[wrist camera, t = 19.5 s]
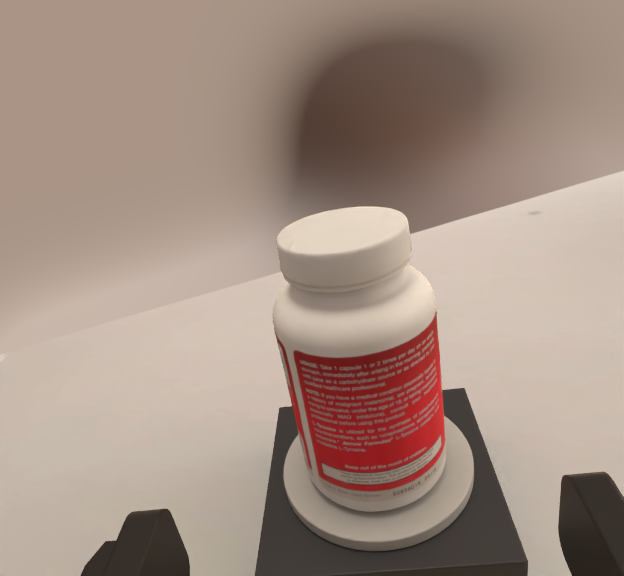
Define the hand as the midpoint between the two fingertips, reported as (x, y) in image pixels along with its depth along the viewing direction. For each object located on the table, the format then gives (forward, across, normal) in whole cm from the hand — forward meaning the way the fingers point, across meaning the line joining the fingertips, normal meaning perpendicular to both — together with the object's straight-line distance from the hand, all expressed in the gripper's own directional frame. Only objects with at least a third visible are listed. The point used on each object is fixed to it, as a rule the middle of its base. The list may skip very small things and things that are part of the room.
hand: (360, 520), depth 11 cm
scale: (+10, 0, +12) cm, 15 cm away
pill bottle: (+10, 0, +8) cm, 13 cm away
